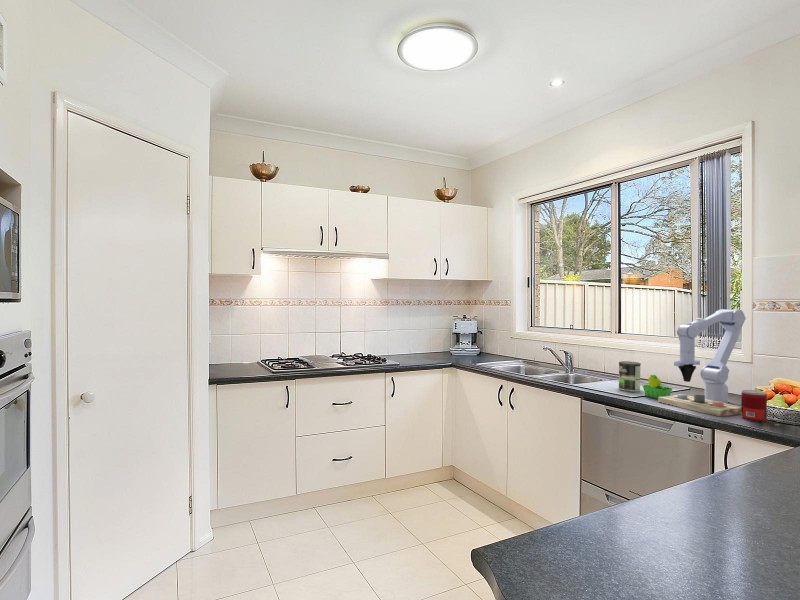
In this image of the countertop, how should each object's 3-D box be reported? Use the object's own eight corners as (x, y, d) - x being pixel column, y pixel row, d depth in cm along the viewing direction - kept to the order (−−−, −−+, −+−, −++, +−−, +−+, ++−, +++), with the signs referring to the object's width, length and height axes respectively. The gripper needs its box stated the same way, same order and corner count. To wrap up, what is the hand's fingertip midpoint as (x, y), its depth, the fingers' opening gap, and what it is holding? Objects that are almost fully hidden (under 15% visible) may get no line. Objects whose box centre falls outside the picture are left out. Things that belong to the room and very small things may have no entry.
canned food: (770, 422, 182) (771, 394, 182) (747, 421, 184) (747, 393, 184) (759, 417, 190) (760, 390, 190) (737, 416, 191) (737, 389, 191)
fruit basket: (673, 399, 224) (673, 375, 224) (661, 400, 220) (661, 376, 220) (651, 394, 235) (651, 371, 235) (639, 396, 231) (639, 372, 231)
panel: (682, 399, 223) (682, 394, 223) (745, 413, 197) (745, 407, 197) (657, 402, 217) (658, 396, 217) (719, 416, 191) (719, 410, 191)
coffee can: (625, 391, 241) (626, 364, 241) (614, 387, 251) (614, 361, 251) (644, 391, 242) (645, 363, 242) (632, 387, 252) (633, 361, 252)
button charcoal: (698, 401, 209) (698, 393, 209) (707, 403, 206) (707, 395, 206) (692, 402, 208) (692, 394, 208) (700, 404, 204) (701, 396, 204)
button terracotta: (716, 409, 202) (716, 400, 202) (725, 411, 198) (725, 402, 198) (710, 409, 201) (710, 401, 201) (719, 412, 197) (719, 403, 197)
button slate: (681, 401, 217) (681, 393, 217) (689, 403, 213) (689, 395, 213) (675, 402, 215) (675, 394, 215) (683, 404, 212) (683, 396, 212)
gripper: (684, 353, 208) (684, 384, 208) (706, 351, 213) (706, 381, 214) (669, 351, 214) (669, 381, 214) (691, 350, 220) (691, 379, 220)
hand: (687, 381), depth 214 cm, fingers closed
